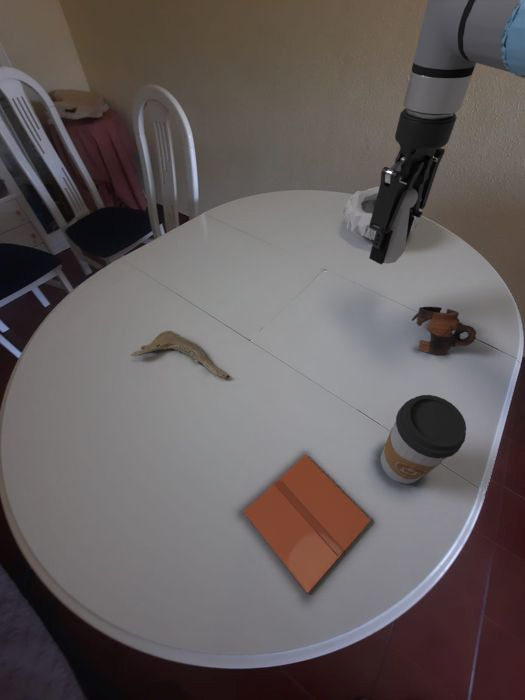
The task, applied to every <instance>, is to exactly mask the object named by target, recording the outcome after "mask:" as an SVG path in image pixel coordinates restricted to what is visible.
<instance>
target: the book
mask: <svg viewBox="0 0 525 700" xmlns="http://www.w3.org/2000/svg"><path fill="white" fill-rule="evenodd" d="M243 514H245V516H246V517H247V519H248V520H249V521H250V522H251V524H252V525H253V526H254V527H255V529H256V530H257V531H258V533H259V534H260V535H261V536H262V538H263V539H264V540H265V542H266V543H267V544H268V545H269V547H270V548H271V550H272V551H273V552H274V553H275V554H276V556H277V557H278V558H279V559H280V561H281V563H283V565H284V566H285V567H286V568H287V570H288V571H289V572H290V573H291V575H292V576H293V577H294V579H295V580H296V581H297V583H298V584H299V585H300V586H301V588H302V589H303V590H304V591H305V593H306V594H309V593H310V592H311V591H312V589H313V588H314V587H315V586H316V585H317V584H318V582H319V581H321V579H322V578H323V577H324V576H325V574H326V573H327V572H329V570H330V569H331V567H333V565H334V564H335V563H336V561H337V560H339V558H341V556H342V555H343V554H344V552H345V551H346V550H347V549H348V548H349V547H350V546H351V545H352V543H354V541H355V540H356V538H357V537H358V536H360V534H361V533H362V531H364V529H365V528H366V527H367V526H368V525H369V523H370V522H371V520H372V519H370V518H369V517H368V516H367V514H365V512H364V511H362V509H361V508H360V507H358V506H357V504H355V502H354V501H352V500H351V499H350V497H349V496H348V495H346V493H345V492H344V491H343V490H341V488H339V486H337V484H336V483H335V482H334V481H333V480H331V478H330V477H329V476H328V475H327V474H326V473H325V472H324V471H323V470H322V469H321V468H320V467H319V466H318V465H317V464H316V463H315V462H314V461H313V460H312V459H311V458H310V457H309V456H308V455H307V454H305V455H304V456H303V457H302V458H300V459H299V460H298V461H297V462H296V463H295V464H294V465H293V466H291V468H290V469H288V470H287V471H286V472H285V473H284V474H283V475H282V476H281V477H280V478H279V479H277V480H276V482H274V483H273V484H272V485H271V486H270V487H269V488H268V489H267V490H266V491H264V492H263V493H262V494H261V495H260V496H259V497H257V498H256V500H254V502H252V503H251V504H250V505H249V506H248V507H247V508H245V510H244V511H243Z"/></svg>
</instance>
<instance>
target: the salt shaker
mask: <svg viewBox="0 0 525 700" xmlns="http://www.w3.org/2000/svg"><path fill="white" fill-rule="evenodd" d="M417 198H418V193H417V191H416V190H415V189H413V188H412V189H411V190H410V191H408V192H407V193H406V195H405V197H404V200H403V202H402V204H401V207H400V209H399V211H398V214H397V216H396V218H395V220H394V223H393V225H392V227H391V230H392V231H393V233H392V236H391V239H390V243H389V246H388V249H387V253H386V256H385V260H384V263H383V264H386V265H387V264H393V263H396V262H397V261H398V260H399V259H400V257H402V255H403V254H404V252H405V250H406V245H407V242H406V237H407V229H408V220H409V211H410V208H411V207H413V206H414V205H415V203H416V201H417Z"/></svg>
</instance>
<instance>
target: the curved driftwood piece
mask: <svg viewBox="0 0 525 700" xmlns="http://www.w3.org/2000/svg"><path fill="white" fill-rule="evenodd" d="M140 348H141V349H140V350H137V351H133V352H132V353H130V356H131V357H139V356H143V355H146V354H149V353H151V352H155V351H160V350H161V351H162V350H169V349H173V350H174V351H176V352H180V353H182V354H185V355H187V356H189V357H190V358H192V359H191V360H192V361H194V362H195V363H196V364H198V363H199V364H200V363H201V365H203V367H205V368H206V369H208V371H210V372H211V373H212V374H214V375H216V376H218V377H220V378H221V379H224V380H226V379H228V378H230V375H229V374H228V373H226V372H225V371H224V370H222V369H221V368H218V367H217V366H216V365H214V364H213V362H211V360H210V359H209V357H208V356H207V354H206V353H205V352H204V351H203V349H202V348H201V347H200V346H199V345H197V344H196V343H194V342H193V341H191V340H189V339H187V338H186V337H183V336H180V335H177V334H176V332H174V331H172V330H165V331H163V332H160V333H159V334H158V335H157V336H156V337H155V338H154V339H153V340H152V341H151V342H150V343H149V344H146V345H141V346H140Z"/></svg>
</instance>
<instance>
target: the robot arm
mask: <svg viewBox="0 0 525 700" xmlns="http://www.w3.org/2000/svg"><path fill="white" fill-rule="evenodd" d="M414 52H415V53H414V56H413V60H412V61H413V62H412V66H411V72H410V76H409V77H408V78H407V87H406V91H405V95H404V100H403V102H402V105H403V107H404V108H403V110H402V111H400V115H399V118H398V122H397V126H396V130H395V133H394V139H395V141H396V142H397V143H398V145H399V151H398V153H397V155H396V158H395V159H394V163H393V165H392V166H391V167H388V166H384V167H383V168H382V170H381V173H380V184H379V186H380V187H379V191H378V195H377V199H376V202H375V206H374V210H373V214H372V217H371V221H370V225H369V228H370V229H372V230H375V231H376V234H375V238H374V240H373V242H372V246H371V249H370V253H369V257H368V259H369V260H372V261H373V262H375V263H377V264H379V265H383V264H385V263H384V260H385V256H386V253H387V249H388V246H389V243H390V239H391V236H392V233H393V231H392V230H391V227H392V225H393V223H394V220H395V218H396V216H397V214H398V211H399V209H400V207H401V204H402V202H403V200H404V197H405V195H406V193H407V192H408V191H410V190H411V189H412V188H413V189H415V190H416V191H417V193H418V198H417V201H416V203H415V205H414V206H413V207H411V208H410V211H409V220H408V229H407V237H406V243H407V241H408V239H409V237H410V233H411V231H410V230H411V227H412V224H413V221H414V216H415V217H418V218H420V219H421V217H422V215H423V211H422V212H420V211H419V209H422V210H424V209H425V207H426V205H427V202H428V198H429V196H430V192H431V189H432V186H433V183H434V180H435V177H436V174H437V171H438V169H439V165H440V163H441V161H442V159H443V157H444V154H445V152H446V149H445V148H443V147H445V146H446V145H447V144H448V143H449V141H450V139H451V136H452V133H453V129H454V127H455V124H456V121H457V119H458V118H457V115H456V113H458V112H459V111H460V110H461V108H462V106H463V102H464V100H465V97H466V94H467V91H468V88H469V85H470V82H471V80H472V77H473V73H474V70H475V67H476V65H477V64H479V65H483V66H487V67H490V68H493V69H497V70H501V71H505V72H508V73H511V74H514V76H516V77H520V78H523V79H524V78H525V0H427V3H426V6H425V11H424V15H423V19H422V24H421V28H420V32H419V35H418V39H417V45H416V49H415V51H414Z"/></svg>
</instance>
